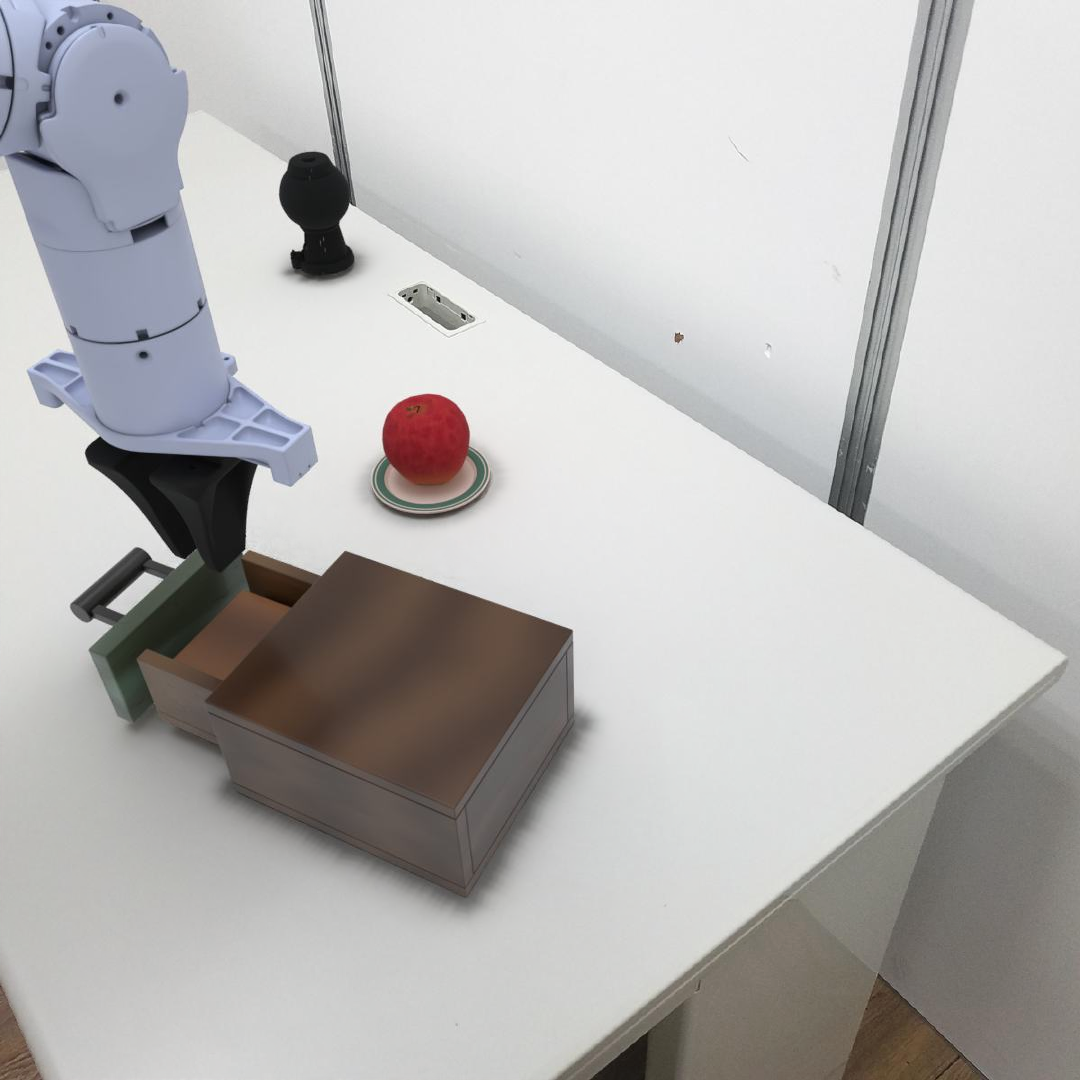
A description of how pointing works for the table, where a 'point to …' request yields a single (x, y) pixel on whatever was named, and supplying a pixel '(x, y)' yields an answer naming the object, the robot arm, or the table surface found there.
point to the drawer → (173, 629)
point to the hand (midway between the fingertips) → (210, 552)
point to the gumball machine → (317, 212)
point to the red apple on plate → (428, 458)
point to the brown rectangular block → (232, 634)
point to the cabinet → (398, 716)
